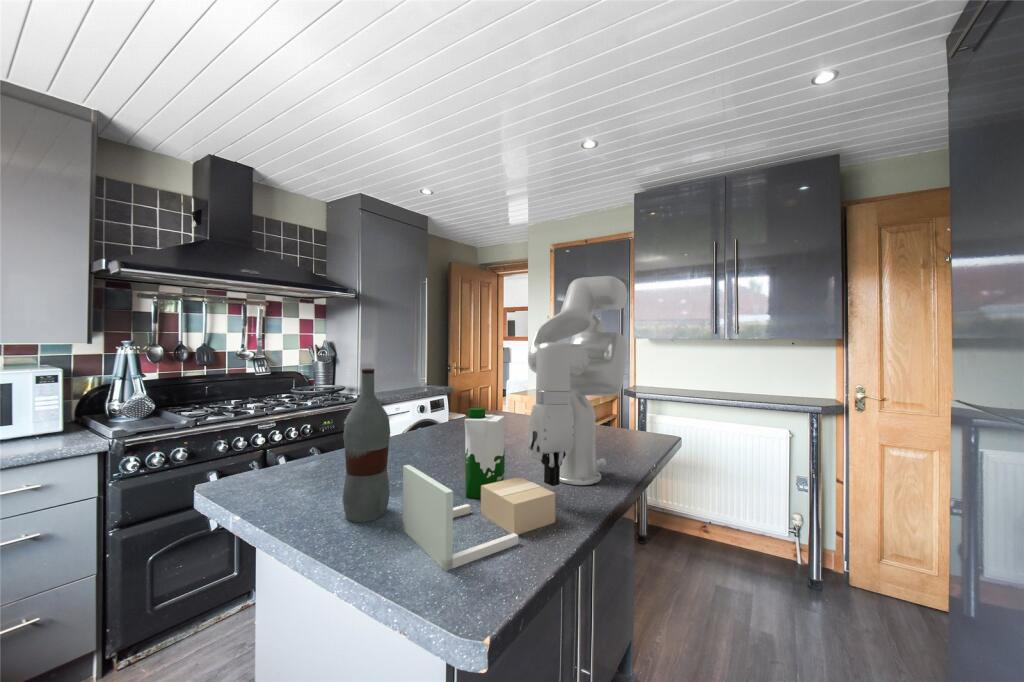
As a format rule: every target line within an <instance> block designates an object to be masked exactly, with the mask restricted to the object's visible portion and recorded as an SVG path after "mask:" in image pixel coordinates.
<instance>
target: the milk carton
mask: <svg viewBox="0 0 1024 682" xmlns="http://www.w3.org/2000/svg"><path fill="white" fill-rule="evenodd" d="M467 410H468V411H467V413H468V414H467V417H465V419H463V420H464V430H465V431H464V433H465V438H464V439H465V445H464V446H465V448H464V449H465V450H464V451H465V452H464V453H465V456H464V458H465V459H464V462H465V465H464V468H465V469H464V472H465V473H464V475H465V477H464V479H465V480H464V481H465V498H466V499H467V498H468V499H480V500H481V485H486V484H490V483H494V482H499V481H503V480H505V467H506V466H505V465H506V463H505V462H506V461H505V460H506V459H505V457H506V456H505V452H506V451H505V448H506V446H505V445H506V444H505V443H506V436H505V434H506V433H505V431H506V430H505V416H504V415H495V414H486V409H485V407H479V406H477V407H469V408H467Z"/></svg>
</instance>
